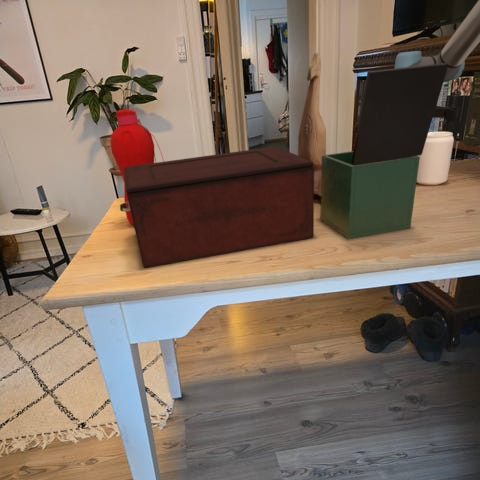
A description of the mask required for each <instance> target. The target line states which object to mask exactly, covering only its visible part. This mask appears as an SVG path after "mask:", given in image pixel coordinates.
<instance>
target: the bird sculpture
mask: <svg viewBox="0 0 480 480" xmlns="http://www.w3.org/2000/svg"><path fill="white" fill-rule="evenodd" d="M321 71H322V59H321V56H320V54H319V53H318V52H315V53H314V54H313V57H312V59H311V62H310V65H309V68H308V72H307V77H306V80H307V81H309V84H308V87H307V93H306V96H305V97H306V98H305V102H304V106H303V111H302V116H301V119H300V120H301V121H300V126H299V131H298V139H297V141H298V143H297V146H298V147H297V156H300V157H302V158H304V159H306V160H309V161H311V162H313V163H314V165H313V167H314V194H316V195H318V196H319V197H321V171H322V155H327V130H326V125H325V122H324V120H323V117H322V115H321V113H320V82H321Z"/></svg>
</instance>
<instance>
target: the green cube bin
mask: <svg viewBox="0 0 480 480" xmlns="http://www.w3.org/2000/svg"><path fill="white" fill-rule="evenodd" d="M353 151H354V150H351V151H344V152H337V153H330V154H326V155H322V171H321V196H320V221H322V222H324V224H326V225H328V226H329V227H330V228H332V229H333V230H335V231H336V232H338V233H339V234H341V235H342V236H343V237H345V238H346V239H348V240H350V239H355V238H361V237H368V236H372V235H378V234H383V233H384V234H385V233H389V232H395V231H402V230H407V229H411V226H412V218H413V210H414V203H415V195H416V189H417V183H418V182H417V174H418V167H419V160H420V157H418V156H412V157H405V158H398V159H391V160H384V161H377V162H371V163H364V164H357V165H353V164H352V163H351V162H352V156H353Z"/></svg>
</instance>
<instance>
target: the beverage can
mask: <svg viewBox="0 0 480 480" xmlns="http://www.w3.org/2000/svg"><path fill="white" fill-rule="evenodd" d="M453 134H454V133H453V132H451V131H429V132H428V135H427V138H426V142H425V145H424V148H423V152H422V155H418V157H420V160H419V167H418V174H417V182H416V183H417V184H419V185H423V186H437V185H442V184H444V183H446V182H447V181H448V178H449V171H450V165H451V159H452V153H453V147H454V141H455V137H454V136H453Z"/></svg>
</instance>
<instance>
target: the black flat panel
mask: <svg viewBox="0 0 480 480" xmlns="http://www.w3.org/2000/svg"><path fill="white" fill-rule="evenodd" d="M448 65H449V64H447V63H441V64H432V65H423V66H413V67H404V68H395V67H394V68H395V69H394V68H387V69H378V70H377V69H376V70H369V71H367V72H366V79H365V84H364V90H363V96H362V101H361V106H360V113H359V118H358V123H357V129H356V135H355V140H354V146H353V150H352V151H353V156H352V162H351V163H352V164H353V165H357V164H364V163H371V162H377V161H384V160H391V159H398V158H405V157H412V156H418V155H422V152H423V148H424V145H425V142H426V138H427V135H428V132H430V128H431V125H432V121H433V115H434V112H435V109H436V105H437V106H438V101H439V98H440V95H441V92H442V88H443V85H444V83H445V82H444V79H445V75H446V72H447V69H448Z"/></svg>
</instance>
